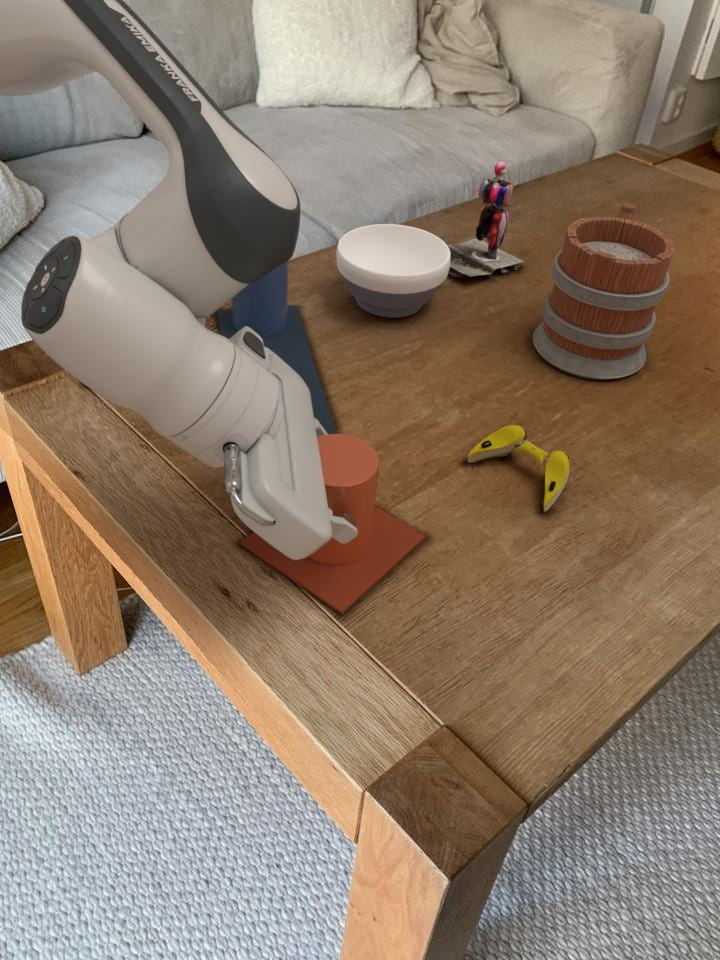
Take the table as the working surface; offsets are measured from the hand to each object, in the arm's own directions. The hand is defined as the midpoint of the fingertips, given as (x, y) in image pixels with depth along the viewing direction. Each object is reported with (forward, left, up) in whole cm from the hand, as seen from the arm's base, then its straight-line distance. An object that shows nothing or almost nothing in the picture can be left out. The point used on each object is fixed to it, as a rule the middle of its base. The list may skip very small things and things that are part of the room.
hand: (344, 494), depth 71 cm
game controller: (+8, +20, -6) cm, 22 cm away
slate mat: (-22, +15, -6) cm, 27 cm away
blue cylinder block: (-31, +22, -6) cm, 39 cm away
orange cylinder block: (-1, 0, -6) cm, 6 cm away
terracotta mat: (-1, 0, -6) cm, 6 cm away
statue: (-21, +55, -6) cm, 59 cm away
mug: (+1, +49, -6) cm, 49 cm away
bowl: (-23, +38, -6) cm, 45 cm away
